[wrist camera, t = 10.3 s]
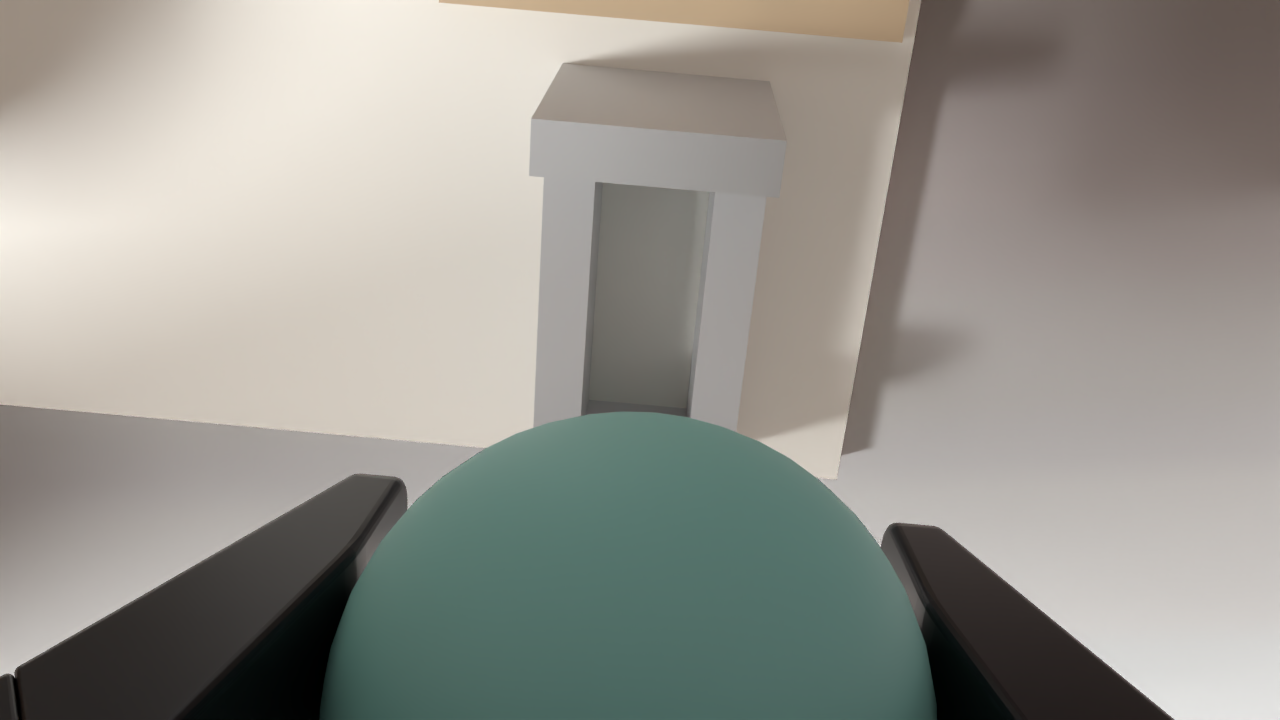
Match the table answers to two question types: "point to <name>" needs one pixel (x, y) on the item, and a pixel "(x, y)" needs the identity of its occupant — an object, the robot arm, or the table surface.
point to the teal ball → (628, 589)
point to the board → (446, 211)
